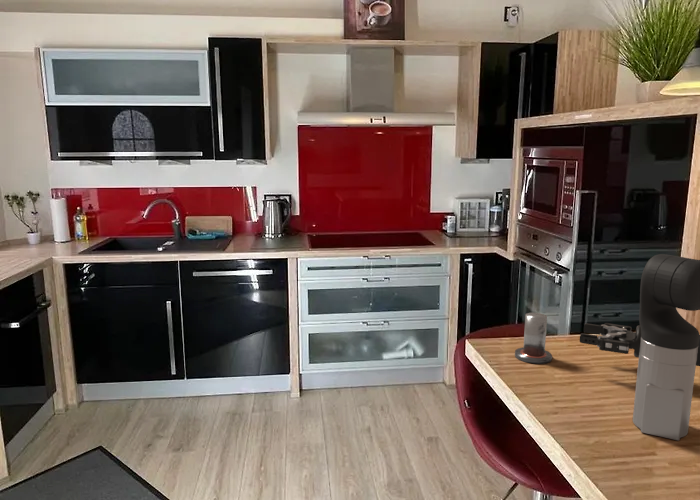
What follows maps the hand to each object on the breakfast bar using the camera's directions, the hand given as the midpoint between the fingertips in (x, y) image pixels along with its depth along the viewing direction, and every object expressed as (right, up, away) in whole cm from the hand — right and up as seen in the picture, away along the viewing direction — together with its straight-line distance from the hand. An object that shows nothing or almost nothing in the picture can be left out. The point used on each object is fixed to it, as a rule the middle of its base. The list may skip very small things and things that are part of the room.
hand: (582, 332), depth 128 cm
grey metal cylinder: (-9, -6, +7) cm, 13 cm away
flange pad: (-10, -7, +7) cm, 14 cm away
